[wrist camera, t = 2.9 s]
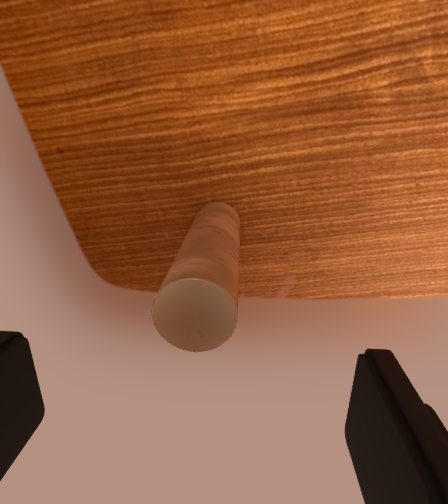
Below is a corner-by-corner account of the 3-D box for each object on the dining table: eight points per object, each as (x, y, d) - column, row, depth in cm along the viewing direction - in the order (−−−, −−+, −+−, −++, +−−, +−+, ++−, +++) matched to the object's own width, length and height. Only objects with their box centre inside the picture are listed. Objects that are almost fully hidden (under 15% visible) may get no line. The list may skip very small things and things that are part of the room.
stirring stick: (195, 244, 24) (154, 350, 13) (194, 200, 23) (148, 276, 12) (239, 245, 24) (236, 354, 13) (241, 201, 23) (238, 279, 12)
